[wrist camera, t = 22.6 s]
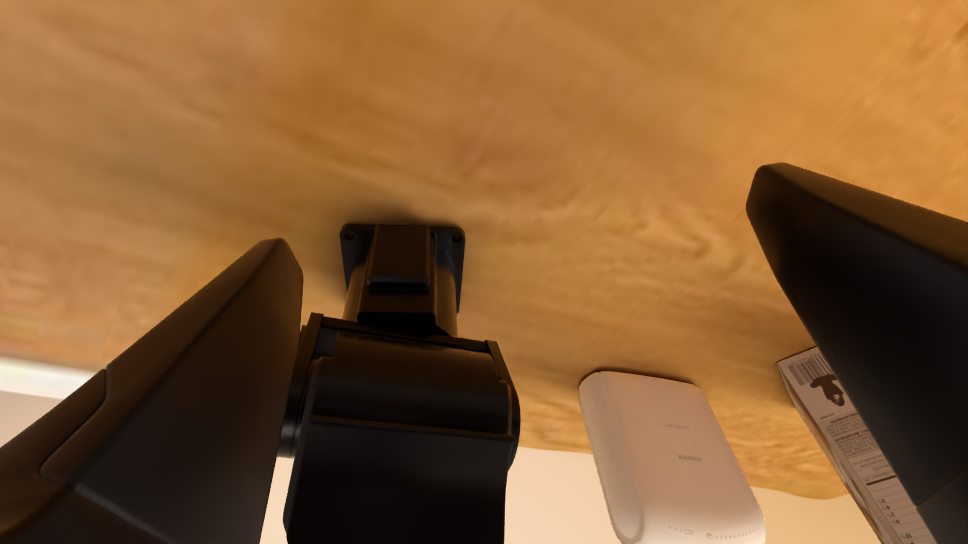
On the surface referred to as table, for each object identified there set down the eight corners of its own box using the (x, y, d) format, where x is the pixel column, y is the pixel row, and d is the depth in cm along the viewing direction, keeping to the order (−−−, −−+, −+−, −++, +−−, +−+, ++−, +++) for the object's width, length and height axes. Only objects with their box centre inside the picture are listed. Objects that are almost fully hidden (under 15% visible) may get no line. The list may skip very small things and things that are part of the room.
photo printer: (708, 381, 37) (796, 556, 28) (675, 410, 40) (746, 578, 31) (594, 361, 34) (652, 549, 25) (568, 394, 37) (611, 574, 28)
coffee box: (875, 381, 39) (1065, 615, 27) (795, 410, 41) (938, 637, 30) (862, 325, 34) (1091, 586, 22) (771, 362, 36) (934, 616, 24)
